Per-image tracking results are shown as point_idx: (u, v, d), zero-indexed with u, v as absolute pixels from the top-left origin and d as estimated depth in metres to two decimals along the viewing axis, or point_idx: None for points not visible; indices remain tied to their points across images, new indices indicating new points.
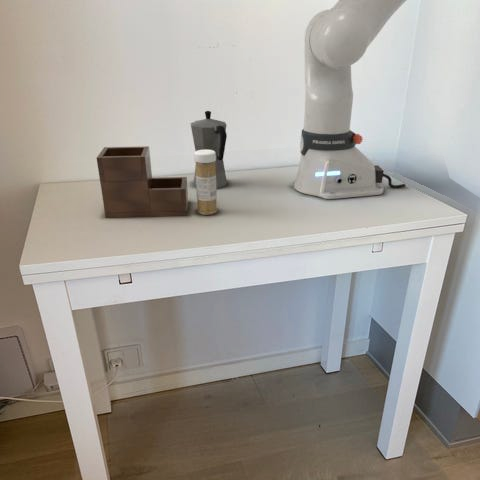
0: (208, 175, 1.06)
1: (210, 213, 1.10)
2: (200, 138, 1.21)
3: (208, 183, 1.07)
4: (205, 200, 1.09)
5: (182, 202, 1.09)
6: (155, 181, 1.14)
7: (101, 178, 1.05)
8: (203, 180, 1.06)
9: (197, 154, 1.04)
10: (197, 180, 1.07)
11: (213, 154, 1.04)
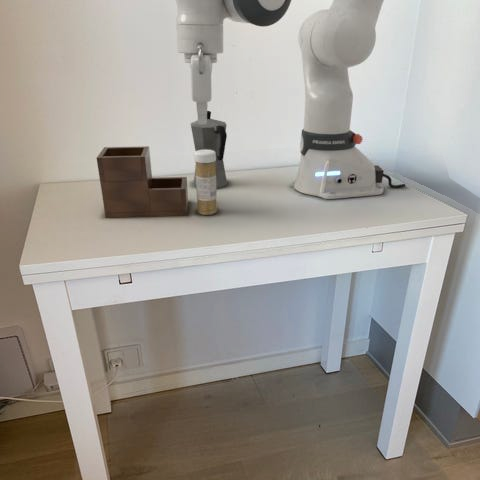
0: (208, 175, 1.06)
1: (210, 213, 1.10)
2: (200, 138, 1.21)
3: (208, 183, 1.07)
4: (205, 200, 1.09)
5: (182, 202, 1.09)
6: (155, 181, 1.14)
7: (101, 178, 1.05)
8: (203, 180, 1.06)
9: (197, 154, 1.04)
10: (197, 180, 1.07)
11: (213, 154, 1.04)
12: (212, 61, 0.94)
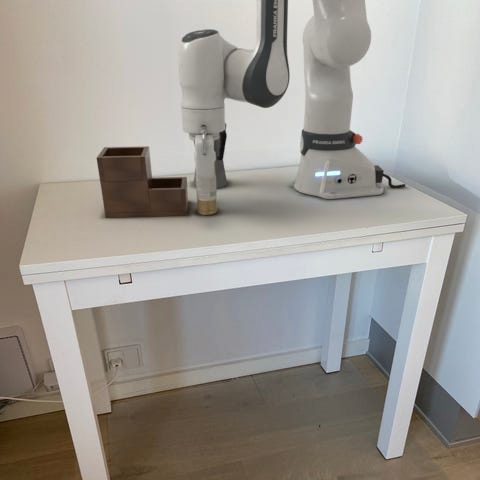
0: None
1: (210, 213, 1.10)
2: None
3: None
4: (205, 200, 1.09)
5: (182, 202, 1.09)
6: (155, 181, 1.14)
7: (101, 178, 1.05)
8: None
9: None
10: (197, 180, 1.07)
11: None
12: (214, 138, 1.02)
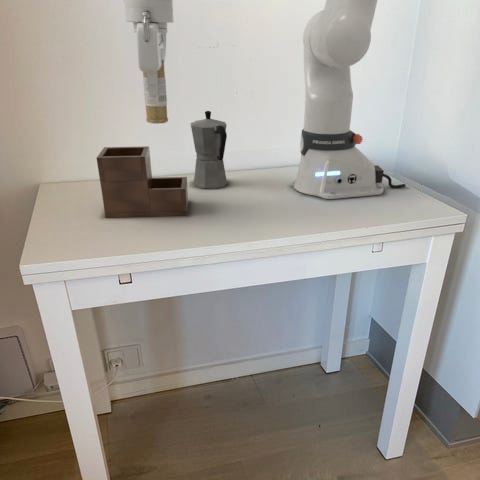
0: None
1: (159, 121, 1.01)
2: (200, 138, 1.21)
3: None
4: (153, 105, 0.99)
5: (182, 202, 1.09)
6: (155, 181, 1.14)
7: (101, 178, 1.05)
8: None
9: None
10: (144, 82, 0.98)
11: (161, 51, 0.95)
12: (161, 31, 0.92)
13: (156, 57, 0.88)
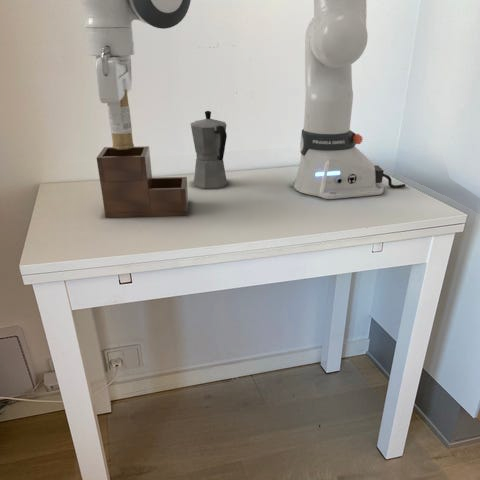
0: None
1: (125, 148, 1.05)
2: (200, 138, 1.21)
3: None
4: (118, 133, 1.03)
5: (182, 202, 1.09)
6: (155, 181, 1.14)
7: (101, 178, 1.05)
8: None
9: None
10: (108, 111, 1.02)
11: (123, 81, 0.99)
12: (122, 63, 0.96)
13: (115, 90, 0.92)
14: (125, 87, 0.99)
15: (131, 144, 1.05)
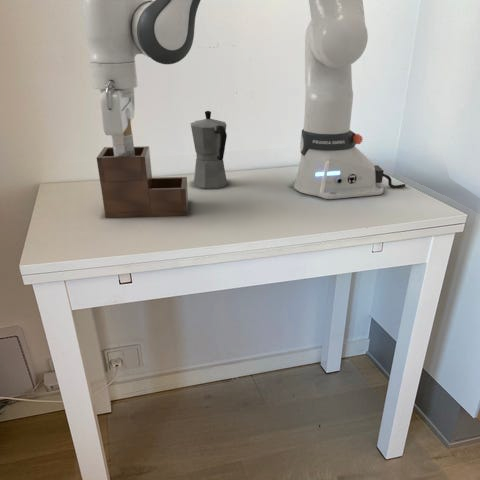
0: None
1: None
2: (200, 138, 1.21)
3: None
4: None
5: (182, 202, 1.09)
6: (155, 181, 1.14)
7: (101, 178, 1.05)
8: None
9: None
10: (112, 139, 1.04)
11: None
12: (126, 95, 0.99)
13: (119, 123, 0.95)
14: (128, 116, 1.02)
15: None
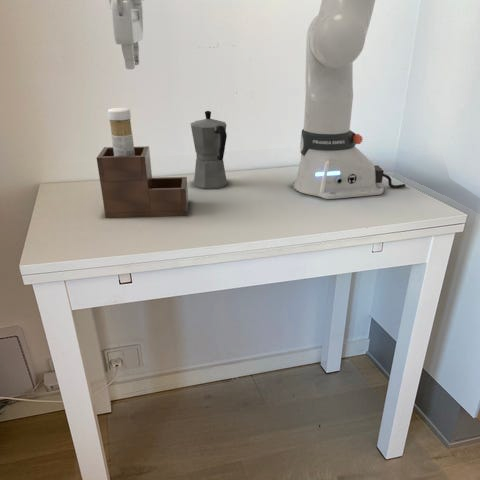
0: (122, 133, 1.03)
1: None
2: (200, 138, 1.21)
3: (123, 142, 1.04)
4: None
5: (182, 202, 1.09)
6: (155, 181, 1.14)
7: (101, 178, 1.05)
8: (118, 138, 1.03)
9: (109, 111, 1.01)
10: (112, 139, 1.04)
11: (126, 111, 1.02)
12: (136, 6, 0.98)
13: (130, 30, 0.94)
14: (128, 116, 1.02)
15: None
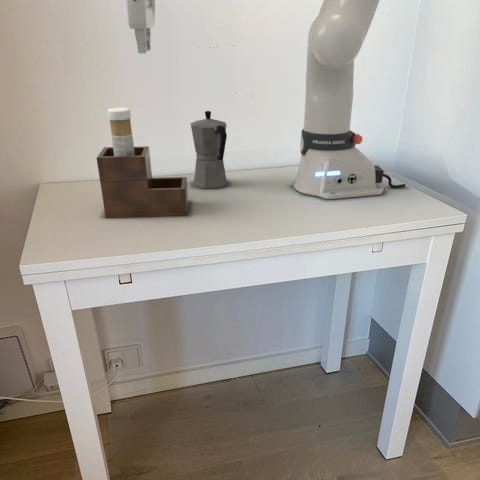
0: (122, 133, 1.03)
1: None
2: (200, 138, 1.21)
3: (123, 142, 1.04)
4: None
5: (182, 202, 1.09)
6: (155, 181, 1.14)
7: (101, 178, 1.05)
8: (118, 138, 1.03)
9: (109, 111, 1.01)
10: (112, 139, 1.04)
11: (126, 111, 1.02)
12: None
13: (143, 15, 0.98)
14: (128, 116, 1.02)
15: None
